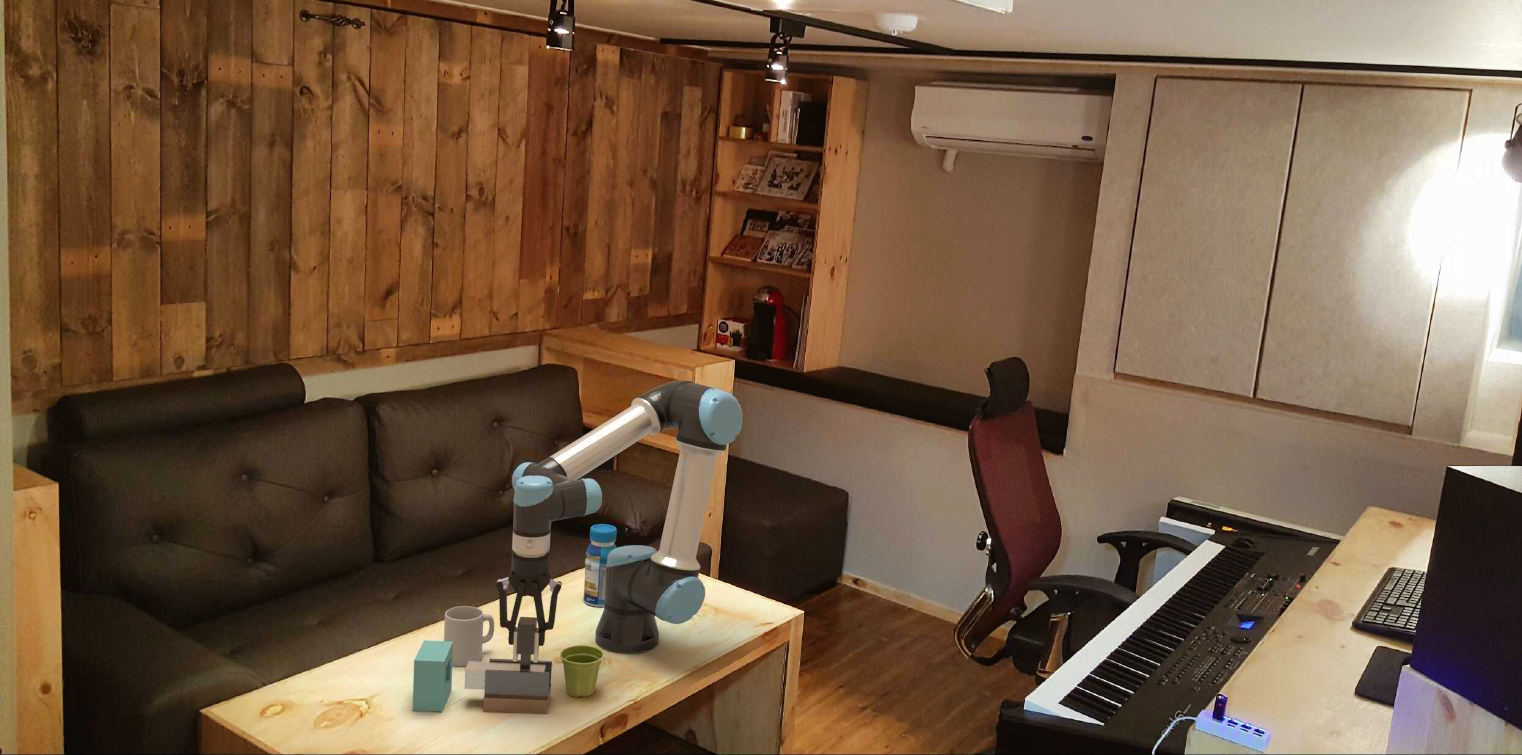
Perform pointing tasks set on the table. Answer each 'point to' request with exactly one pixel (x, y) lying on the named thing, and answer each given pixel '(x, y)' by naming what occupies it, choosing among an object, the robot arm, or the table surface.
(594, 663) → the plant pot
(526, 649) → the grey sliding latch bolt
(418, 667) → the socket block
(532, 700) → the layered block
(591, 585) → the beverage bottle
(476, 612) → the mug
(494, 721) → the table surface
